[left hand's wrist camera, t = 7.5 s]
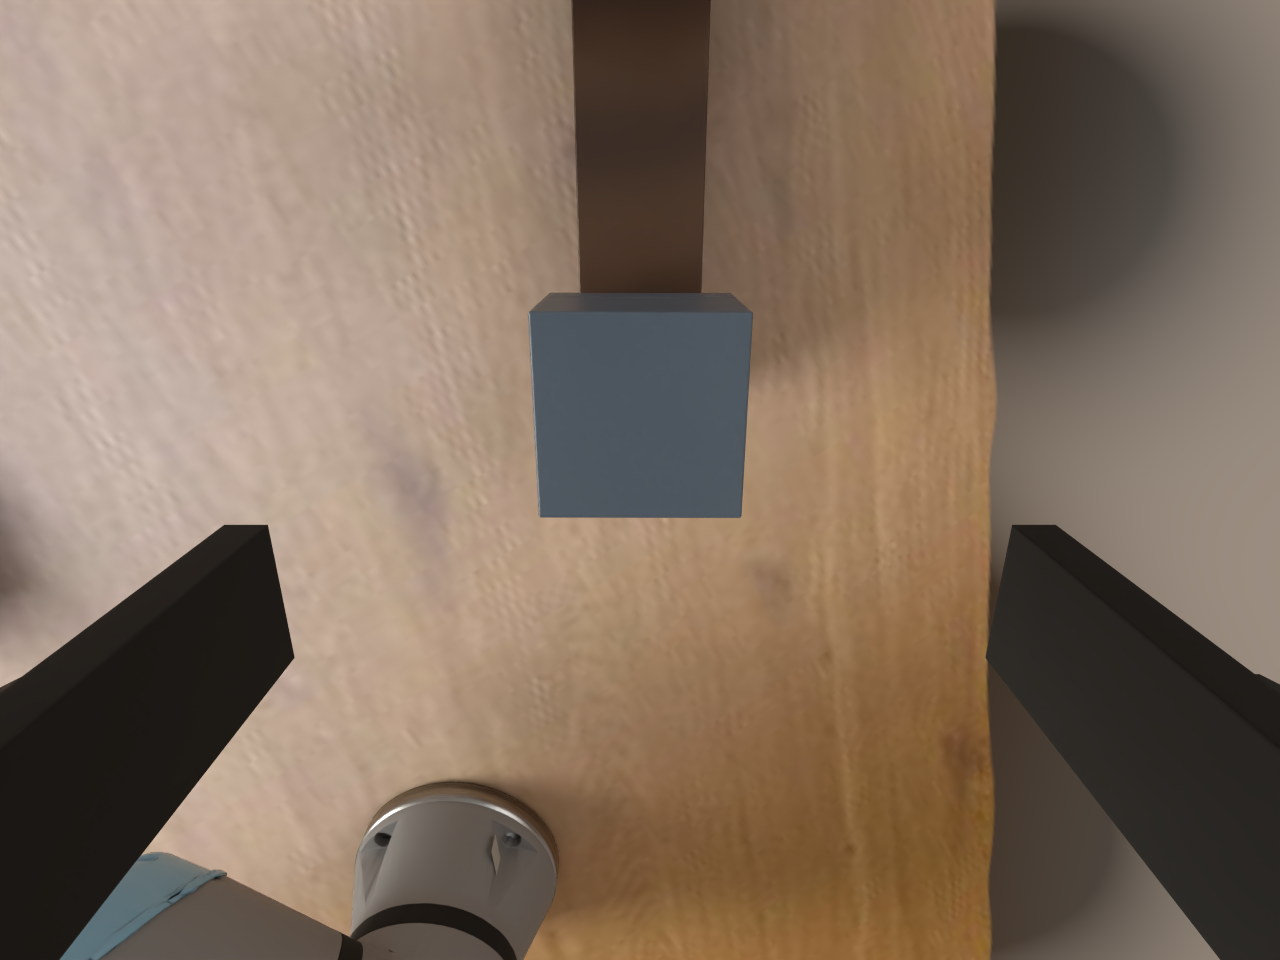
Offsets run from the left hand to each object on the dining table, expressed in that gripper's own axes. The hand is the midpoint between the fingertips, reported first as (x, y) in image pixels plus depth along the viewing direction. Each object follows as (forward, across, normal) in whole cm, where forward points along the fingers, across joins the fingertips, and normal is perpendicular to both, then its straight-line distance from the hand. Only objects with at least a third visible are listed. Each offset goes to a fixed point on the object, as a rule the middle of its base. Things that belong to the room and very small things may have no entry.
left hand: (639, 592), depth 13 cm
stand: (+31, 0, -9) cm, 32 cm away
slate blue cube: (+17, 0, 0) cm, 17 cm away
